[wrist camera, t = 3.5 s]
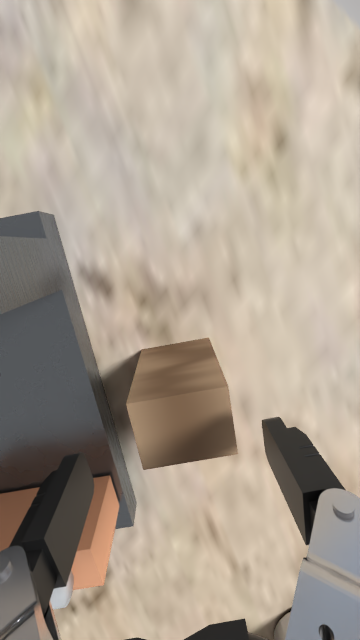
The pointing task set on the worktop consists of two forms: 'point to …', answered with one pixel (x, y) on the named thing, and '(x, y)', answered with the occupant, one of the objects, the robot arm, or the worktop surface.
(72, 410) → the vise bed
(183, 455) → the walnut block
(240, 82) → the worktop surface
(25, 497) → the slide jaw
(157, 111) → the worktop surface
